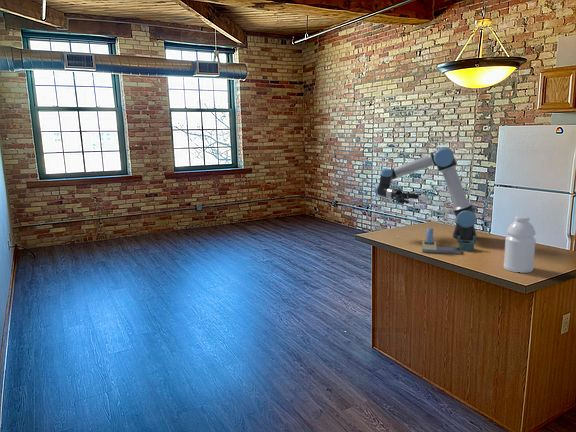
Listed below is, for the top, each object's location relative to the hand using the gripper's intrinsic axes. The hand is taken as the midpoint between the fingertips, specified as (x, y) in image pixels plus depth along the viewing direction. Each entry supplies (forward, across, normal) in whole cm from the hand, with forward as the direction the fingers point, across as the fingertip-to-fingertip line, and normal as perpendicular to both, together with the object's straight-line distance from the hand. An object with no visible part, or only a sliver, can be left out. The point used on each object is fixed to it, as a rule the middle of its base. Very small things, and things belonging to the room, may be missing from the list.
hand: (420, 201), depth 267 cm
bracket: (+28, -12, -27) cm, 41 cm away
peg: (+15, +8, -25) cm, 30 cm away
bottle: (+66, +2, -22) cm, 70 cm away
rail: (+21, +3, -27) cm, 34 cm away
